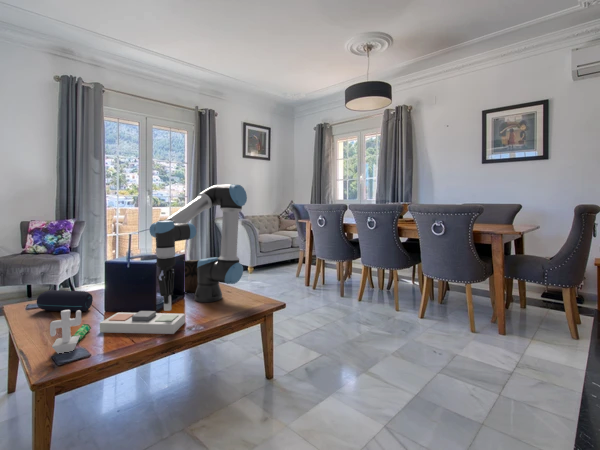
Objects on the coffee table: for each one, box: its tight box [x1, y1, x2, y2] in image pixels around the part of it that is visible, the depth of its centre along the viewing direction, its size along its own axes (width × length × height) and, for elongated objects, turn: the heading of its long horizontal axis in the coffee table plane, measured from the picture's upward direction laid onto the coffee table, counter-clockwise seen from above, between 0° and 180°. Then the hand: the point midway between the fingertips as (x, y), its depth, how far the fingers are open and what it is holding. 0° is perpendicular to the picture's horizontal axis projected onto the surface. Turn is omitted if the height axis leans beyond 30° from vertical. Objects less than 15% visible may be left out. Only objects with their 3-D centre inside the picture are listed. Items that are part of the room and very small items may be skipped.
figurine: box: [49, 310, 82, 355], centre depth 118 cm, size 7×9×15 cm
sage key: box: [155, 315, 178, 322], centre depth 140 cm, size 7×7×3 cm
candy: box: [71, 323, 92, 344], centre depth 130 cm, size 12×3×4 cm
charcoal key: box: [132, 310, 157, 322], centre depth 140 cm, size 7×7×3 cm
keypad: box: [99, 311, 186, 335], centre depth 141 cm, size 13×31×4 cm, turn 89°
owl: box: [184, 259, 200, 294], centre depth 196 cm, size 13×13×20 cm
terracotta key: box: [109, 314, 134, 321], centre depth 141 cm, size 7×7×3 cm
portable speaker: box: [36, 289, 94, 313], centre depth 160 cm, size 25×10×10 cm, turn 85°
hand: (167, 310), depth 140 cm, fingers closed
